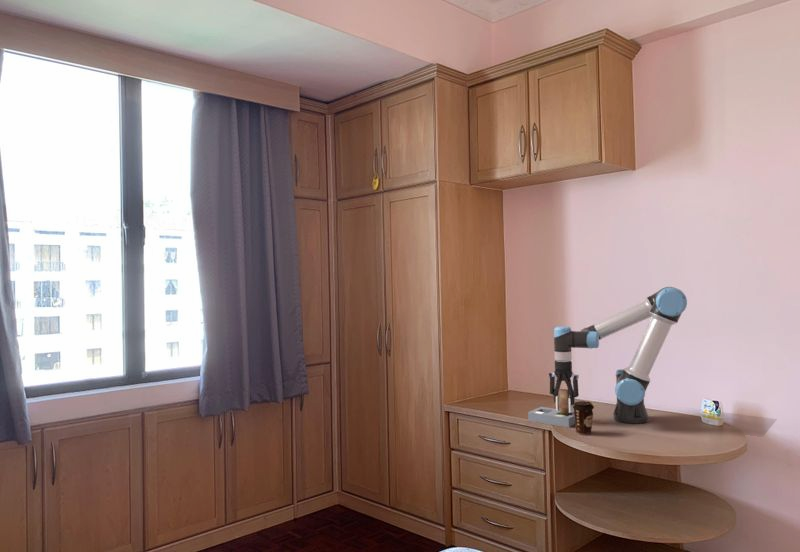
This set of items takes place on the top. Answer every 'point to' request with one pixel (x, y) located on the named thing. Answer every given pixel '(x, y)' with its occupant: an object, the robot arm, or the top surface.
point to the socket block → (551, 417)
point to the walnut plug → (564, 402)
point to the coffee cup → (583, 417)
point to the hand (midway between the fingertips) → (564, 411)
